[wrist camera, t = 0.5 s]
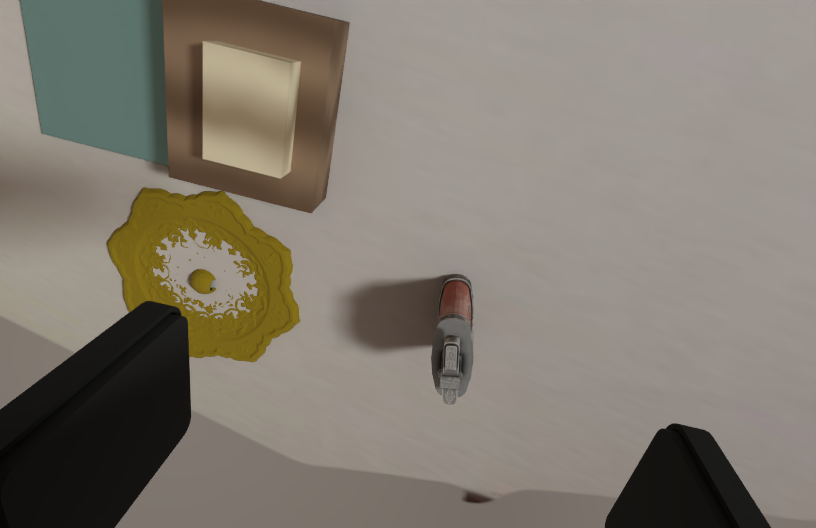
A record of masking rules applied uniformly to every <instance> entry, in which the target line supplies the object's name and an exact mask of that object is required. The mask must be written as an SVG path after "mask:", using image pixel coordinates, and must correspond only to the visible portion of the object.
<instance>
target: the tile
mask: <svg viewBox="0 0 816 528" xmlns="http://www.w3.org/2000/svg"><path fill="white" fill-rule="evenodd" d="M300 67H301V61H297V60H293V59H289V58H285V57H281V56H277V55H273V54H269V53H265V52H261V51H257V50H253V49H249V48H245V47H241V46H237V45H233V44H229V43H224V42H220V41H203V159H205V160H209V161H213V162H217V163H221V164H225V165H229V166H233V167H237V168H241V169H245V170H249V171H252V172H256V173H260V174H264V175H268V176H272V177H276V178H280V179H281V178H282V177H284V176H285V175H287V174H288V173H289V172H291V162H292V151H293V140H294V130H295V119H296V109H297V98H298V88H299V77H300Z"/></svg>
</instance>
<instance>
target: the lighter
mask: <svg viewBox="0 0 816 528" xmlns="http://www.w3.org/2000/svg"><path fill="white" fill-rule="evenodd" d="M437 316H438V323H437V327H436V330H435V334H434V339H433V347H432V357H431V361H432V374H433V379H434V383H435V388H436V390H437V392H438V393H439V394H440V395H442V402H443V403H444V404H445V405H455V404H456V403H457V397H460V396H462V395H464V394H465V392H466V390H467V387H468V384H469V381H470V378H471V372H472V365H473V293H472V287H471V283H470V280H469V279H468V278H467V277H465V276H463V275H460V274H452V275H449V276H447V277H446V278H445V279H444V281H443V284H442V288H441V292H440V297H439V305H438V314H437Z"/></svg>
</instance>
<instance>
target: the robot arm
mask: <svg viewBox="0 0 816 528" xmlns="http://www.w3.org/2000/svg"><path fill="white" fill-rule="evenodd" d="M190 419H191V400H190V369H189V338H188V320H187V318H186V317H184V316H181V311H180V309H179V308H177V307H175V306H170V305H166V304H162V303H158V302H153V301H145V302H143V303H141V304H140V305H139V306H137V307H136V308H135V309H133V310H132V311H131V312H129V313H128V314H127V315H125V316H124V317H123V318H121V319H120V320H119V321H117V322H116V323H115V324H113V325H112V326H111V327H109V328H108V329H107V330H105V331H104V332H103V333H101V334H100V335H99V336H98V337H96V338H95V339H94V340H92V341H91V342H90V343H88V344H87V345H86V346H84V347H83V348H82V349H80V350H79V351H78V352H76V353H75V354H74V355H72V356H71V357H70V358H68V359H67V360H66V361H64V362H63V363H62V364H61V365H59V366H58V367H56V368H55V369H54V370H52V371H51V372H50V373H48V374H47V375H46V376H44V377H43V378H42V379H40V380H39V381H38V382H36V383H35V384H34V385H32V386H31V387H30V388H28V389H27V390H26V391H25V392H23V393H22V394H20V395H19V396H18V397H16V398H15V399H14V400H12V401H11V402H10V403H8V404H7V405H6V406H4V407H3V408H2V409H1V410H0V528H115V526H116V525H117V524H118V522H119V521H120V519H121V518H122V517H123V516H124V514H125V513H126V512H127V510H128V509H129V508H130V506H131V505H132V504H133V502H134V501H135V500H136V498H137V497H138V496H139V494H140V493H141V492H142V491H143V489H144V488H145V487H146V485H147V484H148V483H149V481H150V480H151V479H152V477H153V476H154V475H155V473H156V472H157V471H158V469H159V468H160V466H161V465H162V464H163V463H164V461H165V460H166V459H167V457H168V456H169V455H170V453H171V452H172V451H173V449H174V448H175V447H176V445H177V444H178V443H179V441H180V440H181V439H182V437H183V436H184V435H185V433H186V431H187V429H188V427H189V424H190ZM605 528H771V527H770V525H769V524H768V522H767V521H766V519H765V517H764V516H763V514H762V513H761V511H760V510H759V508H758V506H757V505H756V503H755V502H754V500H753V499H752V497H751V496H750V494H749V492H748V491H747V489H746V488H745V486H744V485H743V483H742V481H741V480H740V478H739V477H738V475H737V474H736V472H735V471H734V469H733V467H732V466H731V464H730V463H729V461H728V460H727V458H726V456H725V455H724V453H723V452H722V450H721V449H720V447H719V446H718V444H717V442H716V441H715V439H714V438H713V436H712V435H711V434H710V433H709V432H707V431H705V430H702V429H698V428H693V427H689V426H685V425H681V424H671V425H669V426H668V427H667V428H666V429H660V430H659V431H658V432H657V433H656V435H655V436H654V438H653V440H652V441H651V443H650V445H649V447H648V448H647V450H646V452H645V453H644V455H643V457H642V458H641V460H640V462H639V464H638V465H637V467H636V469H635V470H634V472H633V474H632V475H631V477H630V479H629V480H628V482H627V484H626V486H625V487H624V489H623V491H622V492H621V494H620V496H619V497H618V499H617V501H616V502H615V504H614V506H613V508H612V509H611V511H610V513H609V514H608V516H607V519H606V522H605Z"/></svg>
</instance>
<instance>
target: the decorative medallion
mask: <svg viewBox="0 0 816 528" xmlns="http://www.w3.org/2000/svg"><path fill="white" fill-rule="evenodd" d="M179 227H180V230H183V231H186V232H187V228H188V230H189V234H188V235H189V236H190V237H191V238H192V239H193V240H194V241H195V237H196V236H197V234H196V233H194V231H195V230H196V229H198V231H199V232H205V233H207V234H206V236H205V238H206V239H207V240H208V239H209V238H211V237H213V238H211V239H210V240H209V242H208V241H207V240H204V241H203V243H204V244H206V243H207V244H209V247H210V246H211V245H213V248H214V247H215V246H216V247H217V249H220V250H222V249H221V246H220V245H221V243H222V240H224V241H225V242H227V243H228V244H229V245H232V247H233V249H230V248H229V249H228V251H229V254H232V255H236V252H235V250H237V251H239V252H241V254H240V255H241V256H242V258H246V259H248V260H242V261H240V262H241V264H246V265H247V266H248V267H249V269H250V273H249V272H246V270H247V269H248V268H247V266H245V265H242V267H243V268H245V269H246V270H245V271H242V270H240V271H242V272H243V278H244V277H245V275H247V276H249V274H253V272H254V271H255V274H254V276H255V280H257V282H256V284H254V285H251V284H249V283H247V287H248V288H249V289H251V290H252V286H254V287H256V288H258V293H257V296H254V295H253V294H252V295H250V296H251V298H252V300H253V302H252V301H251V299H250V297H248V294H247V293H246V292H244V294H245V295H246V296H244V297H243V296H242V295H241V294H240V296H241V297H242V298H241V299H237V300H236V302H235V307H236V309H233V308H230V309H228V310H227V311H225V312H224V314H222V313H215V314H213V315H211V316H210V315H209V314H211V313H213V311H212V309H213V310H217V309H216V308H212V306H211V304H210V305H209V306H207V307H203V306H204V303H202V302H201V301H199V300H193V301H194V302H192V301H191V298H189V297H187V298H186V299H185V298H184V302H185V303H187V302H189V301H191V302H192V304H197V303H198V302H199V306H200V307H201V308H204V309H206V311H207V312H208V313H209V314H208V313H206V312H201V311H196V310H195V308H194V307H193V306H190V305H188V304H185V305H184V304H183V300H182V298H181V297H180V296H179V295H178V294H177V293H174V292H173V287H172V285H171V284H170V282H169V281H167V280H165V279H167V278H169V274H168V277H166V278H165V279H163V278H162V277H161V276H160V275H159V274H158V275H157V277H155V276H154V272H153V267H154V268H155V269H159V268H160V270H161V271H162V272H164V268H163V266H165V267H166V268H167V269H168V267H167V266H166V265H164V264H163V263H169V262H170V259H171V256H170V259H169V262H163V258H164V259H166V258H165V255H162V256H161V257H160V256H159V254H158V253H156V252H155V251H156V250H157V248H156V246H159V247H161V250H167V246H166V245H165V244H163V243H161V240H163V238H167V237H168V240H169V241H171V242H173V243H172V247H175V244H176V243H174V242H179V241H178V236H180V237H181V238H180V241H181V246H182V247H184V246H183V245H182V242H187V240H185V239H183V238H184V236H183V234H182V233H181V232H180V230H179V229H178V228H179ZM166 234H167V235H166ZM172 235H177V236H173V238H172ZM196 244H197V243H196ZM107 245H108V249H109V253H110V256H111V259H112V261H113V263H114V264H115V265H116V267H117V268H118V271H119V273H120V274H121V276H122V277H123V279H124V281H123V288H124V300H125V302H126V305H127V308H128V311H129V312H131V311H132V310H133V309H135V308H136V307H137V306H139V305H140V304H141V303H143V302H145V301H153V302H158V303H162V304H166V305H170V306H175V307H177V308H179V309H180V311H181V316H184V317H186V318H187V320H188V338H189V357H196V358H203V357H206V356H209V357H213V356H217V355H219V356H222V357H225V358H232V359H234V360H238V361H249V362H255V361H257V359H258V358H259V357H260V356H262V355H263V354H264V353H265V350H266V347H267V346H268V345H269V344H270V342H271V340H272V338H276V337H279V336H280V335H281V334H282V333H285V332H288V331H290V330H291V329H292V328H293V327H294V326H295V325H296V324H298V323H299V322H300V319H299V308H298V304H297V303H296V302H295V300H294V299H293V294H292V291H291V290H290V288H289V287H290V284H291V279H290V275H291V273H292V269H293V265H292V260H291V251H290V250H289V249H288V248H286V247H285V246H284V245H283V244H282V243H281V242H280V241H278V240H277V239H276V238H274V237H272V236H269V235H267V234H266V233H265V232H264V231H262V230H261V229H259V228H256V227H254V226H253V224H252V222H251V220H250V219H249V218H248V217H247V216H246V215H244V214H243V211H242V209H241V208H240V206H239V205H238V204H237V203H236V202H234V201H233V200H232V199H230V198H229V197H228V196H227V195H226V194H225V193H224V192H223V191H219V192H213V191H203V192H201V193H199V194H198V195H196V194H192V195H189V196H184V195H181V194H178V193H173V194H170V193H169V192H167V191H166V190H163V189H149V188H143V189H142V191H141V193H140V195H139V196H138V197H137V198H136V200H135V202H134V204H133V211H132V213H131V215H130V218H129V221H127V222H125V223H124V224H123V226H122V227H120V228H118V229H116V230H115V231H114V233H113V235H112V236H111V238H110V239H109V240H108V242H107ZM197 245H198V244H197ZM198 246H199V245H198ZM209 247H208V248H209ZM186 248H188V247H186ZM201 248H203V247H201ZM208 248H206V249H208ZM213 248H212V249H213ZM197 254H199V253H197ZM204 258H205V257H204ZM189 260H190V259H189ZM190 261H191V260H190ZM249 261H250V263H251V264H250V263H249ZM162 262H163V263H162ZM234 263H235V264H237V265H238V266H239V267H241V266H240V264H239V263H238V262H237V261H234ZM162 264H163V265H162ZM152 266H153V267H152ZM239 267H237V268H239ZM178 268H179V267H178ZM168 271H169V269H168ZM240 271H239V272H240ZM224 272H225V271H224ZM239 272H238V273H239ZM177 275H178V274H177ZM169 280H171V281H172V279H171V278H170V279H169ZM213 280H215V277H214V276H213V275H212V274H211V273H210V272H208V271H206V270H203V269H198V270H195V271H194V272H192V275H191V280H190V281H191V284H190V285H191V286H192V288H193V289H194V290H196V291H197V292H198V293H201V294H209V293H212V292H214V291H215V290H216V288H212V290H211V291H210V288H211V287H210V285H211V282H212V281H213ZM162 281H167V282H168V283H169V284H170V285H171V291H169V290H167V289H168V288H169V287H168V286H167V285H166V284H165V285H163V286H161V285H160V284H159V283H161V282H162ZM174 281H176V280H174ZM177 285H178V284H177ZM179 286H180V285H179ZM177 287H178V286H177ZM180 289H182V291H181V293H182V292H183V291H184V293H186V291H185V289H186V287H184V288H182V286H180ZM226 291H227V290H226ZM172 295H176V296H178V297H179V298H180V301H181V302H179V303H177V302H175V301H178V300H177V299H176V297H175V296H172ZM182 295H184V294H183V293H182ZM184 296H185V295H184ZM228 296H229V297H231V296H230V295H229V294H228ZM185 297H186V296H185ZM244 298H246V299H245V300H244ZM232 299H233V297H232ZM230 300H231V299H230ZM238 300H243V301H244V302H245V303H241V306H242V307H245V306H246V309H249V310H251V311H250V312H249V313H248V312H247V311H246V310H243V311H240V310H239V309H238V307H237V303H238ZM216 303H217V302H215V304H216ZM227 303H229V301H227ZM220 305H222V303H219V306H220ZM186 306H188V307H190V308H191V309H192V310H193V311H194V312H193V311H191V310H187V309H185V308H186ZM229 306H233V305H232V304H230V305H229ZM213 307H216V305H214V306H213ZM230 310H235V311H238V314H237V316H236V317H239V318H236V319H235V318H234V315H233V313H232V312H231V313H229V314H228V315H229V316H228V315H227V314H226V313H227V312H229V311H230ZM200 314H206V315H207V316H208V317H209V318H208V317H205V316H204V315H203V316H200ZM217 315H222V317H223V318H220V317H218V319H216V318H215V316H217ZM291 327H292V328H291Z"/></svg>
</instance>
